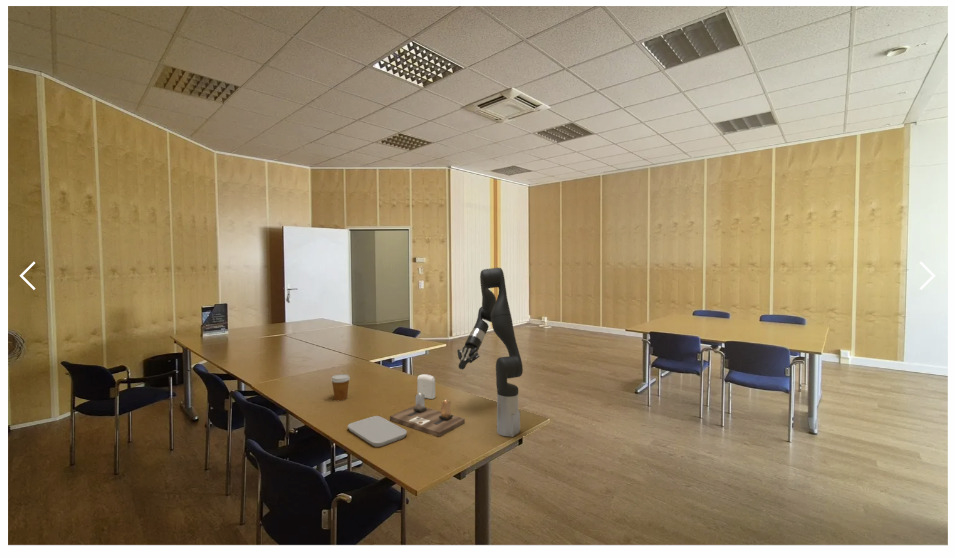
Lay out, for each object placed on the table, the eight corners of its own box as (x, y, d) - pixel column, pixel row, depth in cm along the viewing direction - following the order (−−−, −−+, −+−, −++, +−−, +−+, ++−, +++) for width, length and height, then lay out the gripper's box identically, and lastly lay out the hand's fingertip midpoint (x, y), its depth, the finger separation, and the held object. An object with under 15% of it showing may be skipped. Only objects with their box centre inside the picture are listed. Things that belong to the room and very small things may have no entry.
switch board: (464, 422, 186) (464, 417, 186) (439, 437, 172) (439, 431, 171) (416, 408, 203) (416, 404, 203) (389, 420, 189) (389, 415, 189)
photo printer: (416, 396, 220) (416, 374, 219) (420, 394, 224) (420, 372, 223) (432, 400, 215) (432, 377, 215) (436, 397, 219) (436, 375, 219)
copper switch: (452, 417, 187) (452, 399, 186) (446, 420, 183) (446, 402, 183) (445, 415, 189) (445, 397, 189) (439, 418, 186) (439, 400, 185)
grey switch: (426, 409, 196) (426, 392, 195) (420, 412, 192) (420, 395, 192) (419, 407, 198) (419, 390, 198) (413, 410, 195) (413, 393, 194)
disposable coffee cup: (353, 395, 222) (352, 374, 221) (345, 402, 212) (345, 379, 211) (336, 395, 222) (335, 373, 222) (328, 401, 213) (327, 378, 212)
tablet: (377, 419, 191) (377, 414, 191) (409, 437, 172) (409, 432, 172) (345, 430, 179) (344, 425, 179) (376, 450, 161) (376, 444, 161)
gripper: (461, 333, 208) (446, 362, 199) (483, 336, 201) (468, 366, 191) (467, 341, 213) (453, 370, 204) (489, 345, 205) (475, 374, 196)
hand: (460, 368), depth 197 cm, fingers closed
